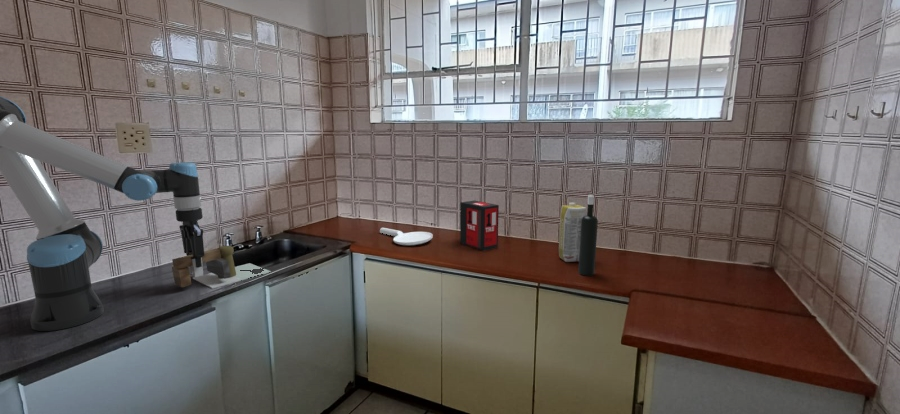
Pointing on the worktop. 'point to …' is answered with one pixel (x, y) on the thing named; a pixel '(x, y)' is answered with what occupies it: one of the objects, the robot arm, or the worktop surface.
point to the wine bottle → (588, 241)
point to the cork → (228, 258)
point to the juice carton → (570, 231)
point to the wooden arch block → (210, 257)
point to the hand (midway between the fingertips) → (196, 274)
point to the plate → (215, 281)
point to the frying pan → (407, 236)
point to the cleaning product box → (479, 225)
